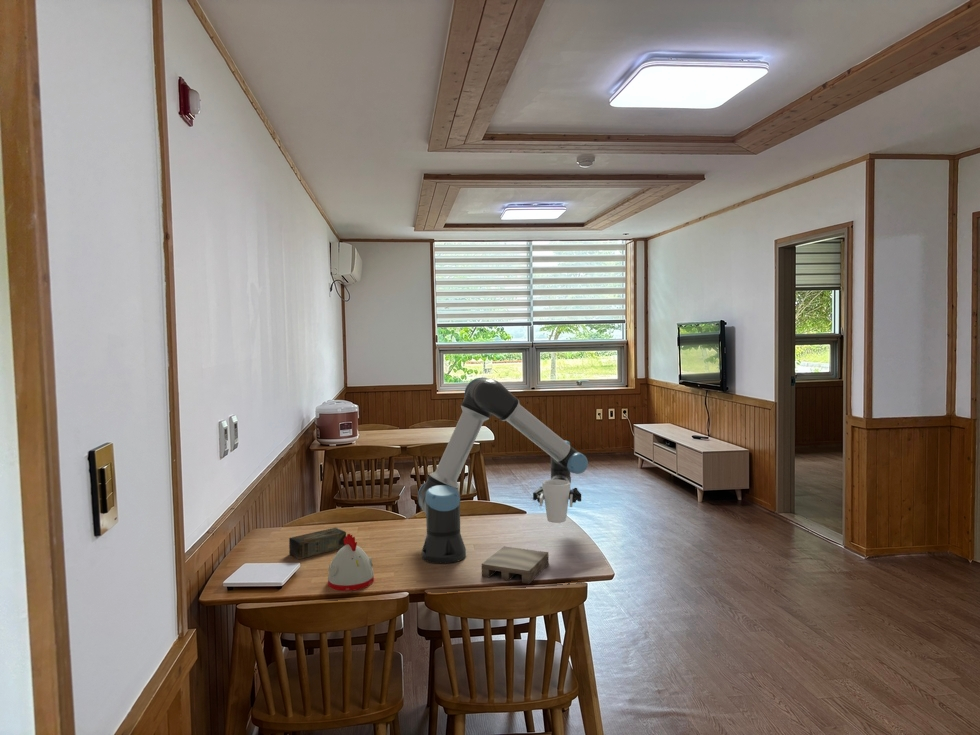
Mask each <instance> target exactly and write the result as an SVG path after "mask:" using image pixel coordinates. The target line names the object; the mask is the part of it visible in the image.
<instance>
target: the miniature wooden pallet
mask: <svg viewBox="0 0 980 735" xmlns="http://www.w3.org/2000/svg"><path fill="white" fill-rule="evenodd" d="M548 566H549V551H541V550H534V549H526V548H520V547H519V548H518V547H512V546H511V547H510V546H502V547H501V548H500V549H498V551H496V552H495V553H494V554H492V555H490V557H489V558H487V559H486V560H484V562H482V563H481V577H484V578H490V577H491V576H492V575H493V574H495V573H496V572H501V580H503V581H510V580H511V579H512V578H513V577H515V576H516V575H521V583H522V584H528V585H529V584H531V583H532V581H533V580H535V579H536V578H537V577H538V576H539V575H540V574H541V573H542V572H543V570H545V568H546V567H548Z"/></svg>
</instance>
